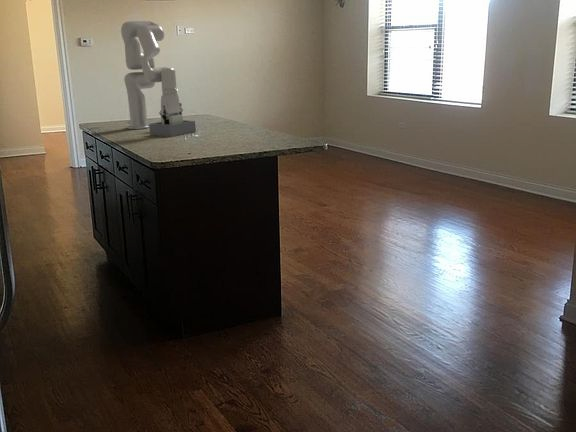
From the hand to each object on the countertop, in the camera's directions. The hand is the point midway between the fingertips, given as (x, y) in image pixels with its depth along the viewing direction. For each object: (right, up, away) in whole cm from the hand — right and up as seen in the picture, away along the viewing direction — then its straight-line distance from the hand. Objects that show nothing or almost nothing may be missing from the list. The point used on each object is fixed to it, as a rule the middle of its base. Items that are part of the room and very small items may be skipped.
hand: (172, 125), depth 338 cm
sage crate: (0, -1, 0) cm, 1 cm away
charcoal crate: (0, -4, +1) cm, 4 cm away
